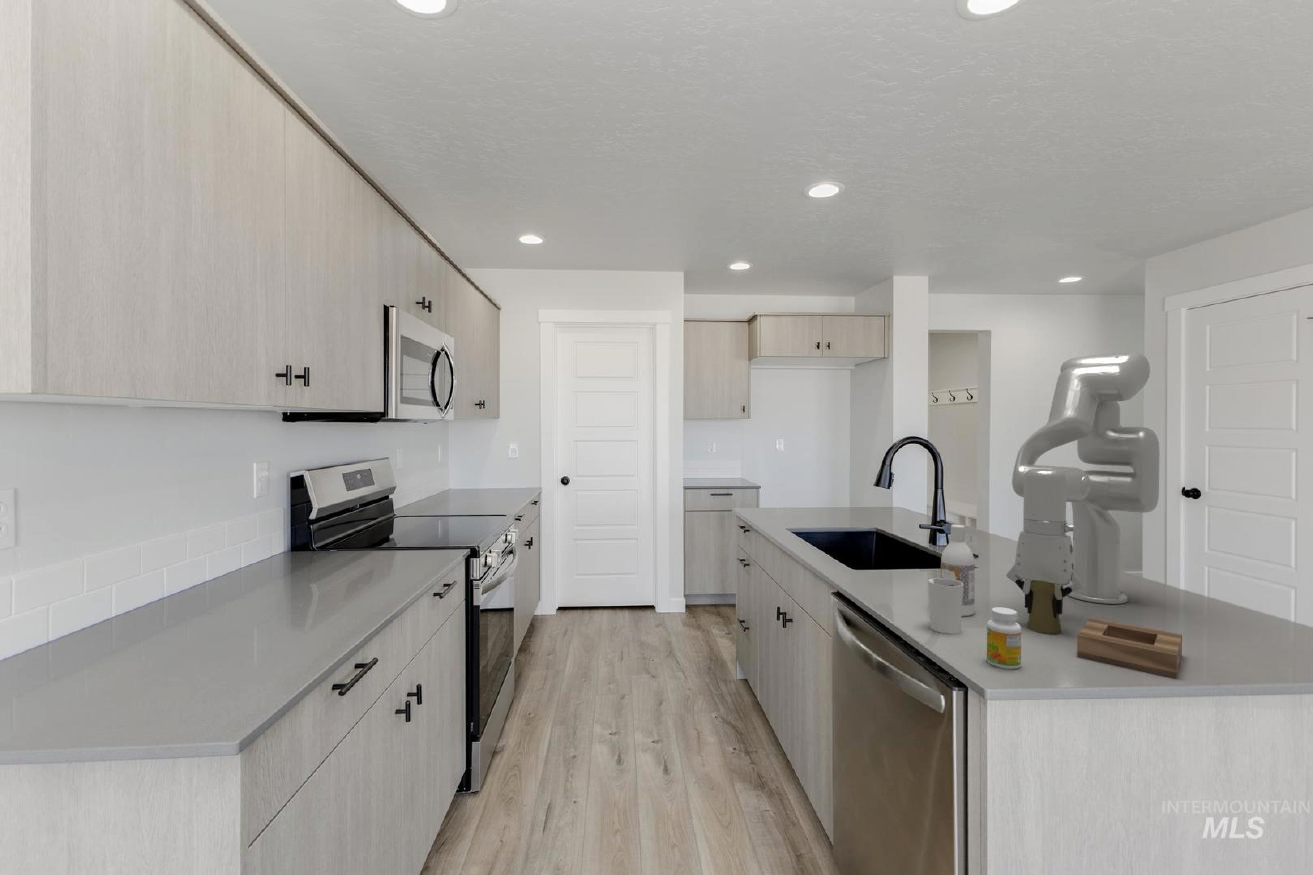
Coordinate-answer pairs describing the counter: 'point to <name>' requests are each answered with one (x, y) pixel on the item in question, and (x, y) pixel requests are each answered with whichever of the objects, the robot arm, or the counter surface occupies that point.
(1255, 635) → the counter surface
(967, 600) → the bath foam
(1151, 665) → the socket block
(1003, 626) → the supplement bottle
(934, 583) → the white cylindrical cup
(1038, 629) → the olive brown peg
